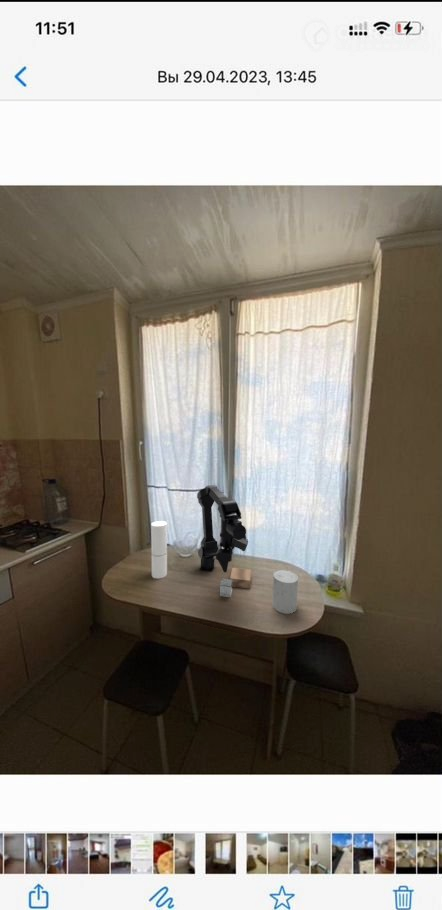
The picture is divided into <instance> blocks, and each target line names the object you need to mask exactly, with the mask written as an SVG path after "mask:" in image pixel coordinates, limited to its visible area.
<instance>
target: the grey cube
mask: <svg viewBox="0 0 442 910" xmlns="http://www.w3.org/2000/svg"><path fill="white" fill-rule="evenodd" d="M232 581H233V580H230V578H221V580H220V584H219V586H220V587H219V596H220V597H224V598H231V597H232V593H233V586H232Z"/></svg>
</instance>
